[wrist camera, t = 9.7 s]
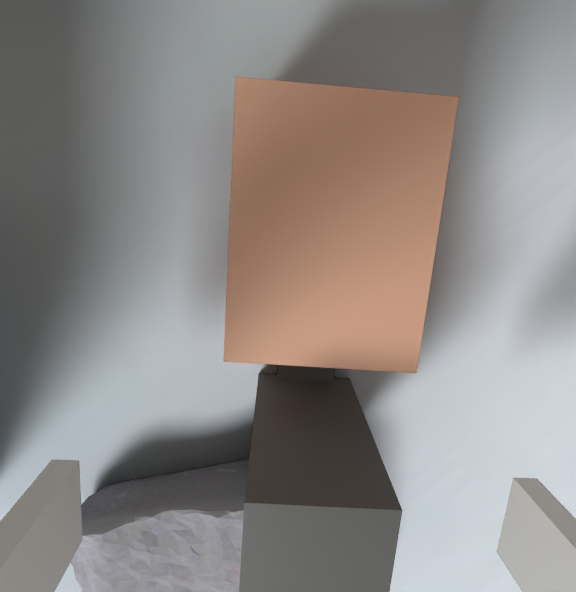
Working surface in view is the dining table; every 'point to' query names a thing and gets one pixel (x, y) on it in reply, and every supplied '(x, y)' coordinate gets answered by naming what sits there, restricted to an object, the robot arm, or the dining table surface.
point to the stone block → (165, 533)
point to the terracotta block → (327, 313)
